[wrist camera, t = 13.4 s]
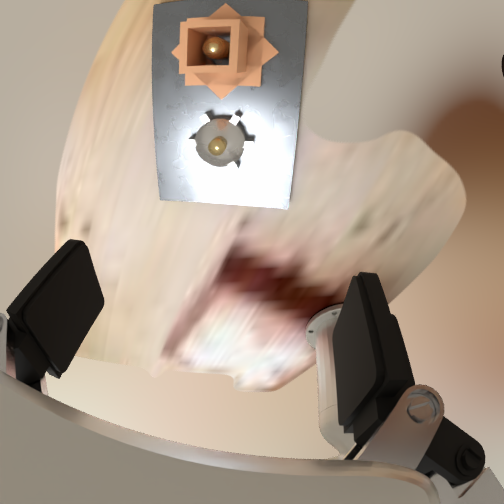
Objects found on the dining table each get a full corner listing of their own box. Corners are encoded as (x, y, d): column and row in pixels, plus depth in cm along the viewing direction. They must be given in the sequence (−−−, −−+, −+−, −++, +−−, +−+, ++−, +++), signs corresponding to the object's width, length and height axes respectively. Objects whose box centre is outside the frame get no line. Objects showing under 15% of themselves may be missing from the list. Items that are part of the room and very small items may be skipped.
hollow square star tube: (282, 6, 19) (282, -12, 14) (275, 101, 25) (274, 111, 20) (176, 8, 20) (147, -4, 14) (174, 99, 26) (145, 110, 20)
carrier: (306, 4, 20) (314, -13, 14) (288, 203, 33) (289, 236, 28) (159, 7, 20) (128, -4, 15) (164, 194, 34) (142, 224, 28)
